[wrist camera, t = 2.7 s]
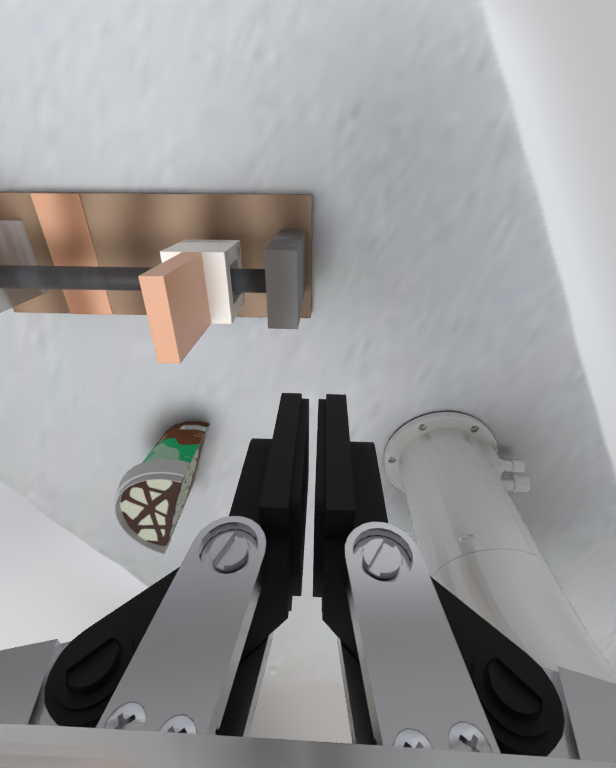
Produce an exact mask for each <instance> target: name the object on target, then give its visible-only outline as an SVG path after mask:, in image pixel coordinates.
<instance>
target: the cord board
mask: <svg viewBox="0 0 616 768" xmlns="http://www.w3.org/2000/svg"><path fill="white" fill-rule="evenodd" d="M183 240H240V250H241V262H242V269H230V275H231V285H232V292H237V293H244V297H245V303H244V305H243V307H242V308H241V310H240V311H239V313H238V314H237V316H236V317H268V328H273V329H298V326H299V321H300V318H311V270H312V194H184V193H49V192H0V313H1V312H3V311H5V310H8V309H10V308H12V307H13V309H14V312H28V313H71V314H109V315H113V314H127V315H147V312H146V308H145V303H144V299H143V295H142V290H141V286H140V282H139V277H138V276H139V275H141V274H143V273H145V272H147V271H148V270H150V269H152V268H154V267H156V266H157V265H159V264H161V263H162V261H161V256H160V251H162V250H164V249H166V248H168V247H171V246H173V245H175V244H177V243H179V242H181V241H183Z"/></svg>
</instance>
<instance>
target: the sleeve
mask: <svg viewBox="0 0 616 768" xmlns="http://www.w3.org/2000/svg"><path fill="white" fill-rule="evenodd" d="M160 256H161V261H162V263H161V264H159V265H157V266H156V267H154V268H152V269H150V270H148V271H147V272H145V273H143V274H141V275H139V276H138V277H139V282H140V286H141V290H142V295H143V299H144V303H145V308H146V312H147V317H148V321H149V325H150V330H151V334H152V339H153V343H154V347H155V352H156V356H157V360H158V363H175V364H180V363H181V362H182V361H183V359H184V358H185V357H186V355H187V354H188V353H189V351H190V350H191V349H192V348H193V346H194V345H195V344H196V342H197V341H198V340H199V338H200V337H201V336H202V335H203V333H204V332H205V331H206V329H207V328H208V327H209V325H210V324H211V323H220V324H232V322H233V321H234V319H235V318H236V316H237V314H238V313H239V311H240V310H241V308H242V307H243V305H244V303H245V297H244V293H237V292H232V285H231V275H230V269H242V262H241V250H240V240H183V241H181V242H179V243H177V244H175V245H173V246H171V247H168V248H166V249H164V250H162V251H160Z"/></svg>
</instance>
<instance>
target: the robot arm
mask: <svg viewBox="0 0 616 768" xmlns="http://www.w3.org/2000/svg"><path fill="white" fill-rule="evenodd" d="M384 466H385V471H386V474H387V476H388V478H389V480H390V481H391V483H392V484H393V485H394V486H395V487H396V488H397V489H399V490H400V491H401V492H403V493H405V497H406V501H407V505H408V509H409V513H410V518H411V522H412V526H413V530H414V534H415V538H416V543H417V545H416V543H415V542H414V540H413V539H412V538H411V537H410V536H409V535H408V534H407V533H406V532H405V531H403V530H401V529H400V528H398V527H396V526H394V525H391V524H388V519H387V513H386V508H385V502H384V496H383V490H382V485H381V479H380V473H379V467H378V462H377V456H376V450H375V445H374V443H373V442H350V437H349V425H348V413H347V401H346V395H336V394H326V399H319V403H318V430H317V457H316V484H315V514H314V564H313V597H322V620H323V621H324V622H325V623H326V624H327V625H328V626H329V627H330V629H331V630H332V631H333V632H334V633H335V634H336V635H337V644H338V650H339V657H340V664H341V671H342V677H343V684H344V691H345V698H346V704H347V711H348V718H349V724H350V732H351V738H352V744H347V743H346V744H345V743H332V742H316V741H300V740H285V739H269V738H251V737H249V733H250V729H251V725H252V721H253V716H254V712H255V708H256V704H257V700H258V696H259V692H260V688H261V684H262V680H263V676H264V672H265V668H266V664H267V660H268V656H269V651H270V647H271V643H272V639H273V631H274V630H275V629H276V628H278V627H279V626H280V625H281V624H282V623H283V622H284V621H285V620H286V619H287V618H288V612H289V611H291V608H292V596H301V591H302V575H303V559H304V542H305V526H306V510H307V493H308V473H309V399H302V394H300V393H282V395H281V400H280V405H279V410H278V414H277V419H276V424H275V429H274V434H273V439H254V438H252V439H251V441H250V444H249V448H248V451H247V455H246V458H245V462H244V465H243V469H242V472H241V476H240V479H239V483H238V486H237V490H236V493H235V497H234V500H233V504H232V507H231V511H230V514H229V517H225V518H220V519H218V520H216V521H214V522H212V523H210V524H208V525H207V526H206V527H205V528H204V529H202V530H201V531H200V533H199V534H198V535H197V537H196V538H195V540H194V541H193V543H192V545H191V547H190V549H189V551H188V553H187V555H186V556H185V558H184V560H183V562H182V564H181V566H180V567H179V568H177V569H176V570H174V571H173V572H171V573H170V574H168V575H167V576H165V577H164V578H162V579H161V580H159V581H158V582H156V583H155V584H153V585H152V586H150V587H149V588H147V589H146V590H144V591H143V592H141V593H140V594H138V595H137V596H135V597H134V598H132V599H131V600H130V601H128V602H126V603H125V604H123V605H122V606H120V607H119V608H118V609H116V610H115V611H113V612H112V613H110V614H109V615H107V616H105V617H104V618H102V619H101V620H99V621H98V622H96V623H95V624H93V625H92V626H91V627H89V628H88V629H86V630H85V631H83V632H82V633H81V634H80V635H78V636H77V637H76V638H75V639H73V640H72V641H71V642H66V643H62V644H60V642H59V641H58V639H55V640H50V641H45V642H41V643H35V644H30V645H25V646H20V647H15V648H11V649H6V650H1V651H0V768H616V674H615V672H614V671H613V669H612V668H611V666H610V665H609V663H608V662H607V660H606V659H605V657H604V656H603V654H602V653H601V652H600V650H599V649H598V647H597V646H596V644H595V642H594V641H593V639H592V638H591V636H590V634H589V633H588V631H587V630H586V628H585V626H584V625H583V623H582V621H581V620H580V618H579V616H578V615H577V613H576V611H575V610H574V608H573V606H572V605H571V603H570V601H569V600H568V598H567V596H566V595H565V593H564V591H563V589H562V588H561V586H560V584H559V582H558V581H557V579H556V577H555V575H554V573H553V572H552V570H551V568H550V567H549V565H548V563H547V561H546V560H545V558H544V556H543V554H542V552H541V551H540V549H539V547H538V545H537V544H536V542H535V540H534V538H533V536H532V535H531V533H530V531H529V529H528V527H527V526H526V524H525V522H524V520H523V519H522V517H521V515H520V513H519V511H518V510H517V508H516V506H515V504H514V503H513V501H512V499H511V497H510V495H509V494H508V492H507V491H510V492H521V493H528V492H530V490H531V480H530V478H529V477H528V476H527V475H502V473H503V472H513V473H524V472H525V470H526V465H525V462H524V461H523V460H502V458H500V457H498V449H497V444H496V441H495V439H494V437H493V435H492V433H491V432H490V430H489V429H488V428H487V427H486V426H485V425H484V424H483V423H482V422H480V421H479V420H477V419H476V418H473V417H471V416H468V415H466V414H461V413H456V412H439V413H432V414H428V415H424V416H421V417H419V418H416V419H414V420H412V421H410V422H408V423H407V424H405V425H404V426H402V427H401V428H400V429H399V430H398V431H397V432H396V433H395V434H394V435H393V436H392V438H391V439H390V440H389V442H388V444H387V446H386V448H385V453H384Z"/></svg>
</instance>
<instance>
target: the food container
mask: <svg viewBox="0 0 616 768" xmlns="http://www.w3.org/2000/svg"><path fill="white" fill-rule="evenodd" d="M209 425H210V424H208V423H203V422H184V423H180V424H177V425H174V426H173V427H172V428H170V429H169V430H167V431H166V433H165V434H164V435H163V437H162V438H161V439H160V440H159V442H158V443H157V444H156V446H155V447H154V448H153V450H152V451H151V452H150V453H149V455H148V456H147V457H146V459H145V460H144V461H143V463H141V464H139V465H137V466H135V467H133V468H132V469H130V470H129V471H128V472H127V473H126V474H125V475H124V476H123V478H122V480H121V482H120V485H119V488H118V490H117V493H116V497H115V516H116V519H117V521H118V523H119V525H120V526H121V528H122V529H123V531H124V532H125V533H126V534H127V535H128V536H129V537H131V538H132V539H133V540H134V541H136V542H137V543H139V544H140V545H142V546H144V547H146V548H148V549H150V550H153V551H155V552H158V553H162V554H164V553H165V551H166V549H167V547H168V545H169V543H170V541H171V537H172V534H173V532H174V530H175V527H176V525H177V522H178V520H179V517H180V515H181V513H182V510H183V508H184V505H185V503H186V501H187V498H188V496H189V493H190V491H191V489H192V486H193V484H194V481H195V479H196V475H197V471H198V467H199V463H200V460H201V456H202V452H203V448H204V444H205V441H206V437H207V433H208V429H209Z"/></svg>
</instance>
